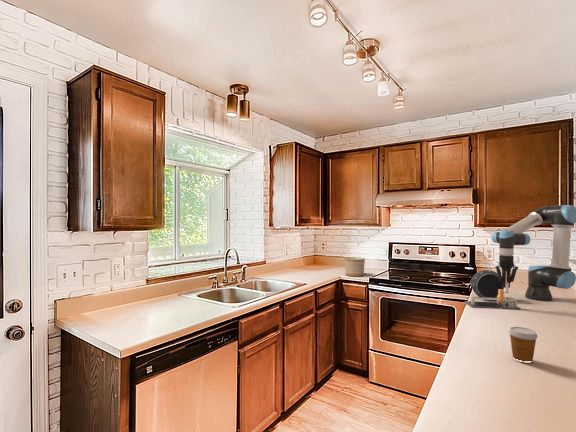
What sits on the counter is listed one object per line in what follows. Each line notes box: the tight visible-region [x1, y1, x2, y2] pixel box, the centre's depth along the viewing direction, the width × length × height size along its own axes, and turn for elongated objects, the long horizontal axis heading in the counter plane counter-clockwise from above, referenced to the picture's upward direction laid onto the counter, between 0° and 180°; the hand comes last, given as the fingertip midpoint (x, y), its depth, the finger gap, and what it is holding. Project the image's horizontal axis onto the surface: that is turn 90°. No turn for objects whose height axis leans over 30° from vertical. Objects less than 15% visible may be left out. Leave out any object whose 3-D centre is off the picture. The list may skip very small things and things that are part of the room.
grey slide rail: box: [470, 296, 518, 307], centre depth 211 cm, size 26×5×7 cm, turn 81°
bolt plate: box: [464, 300, 521, 311], centre depth 213 cm, size 28×12×1 cm, turn 81°
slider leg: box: [496, 289, 506, 304], centre depth 210 cm, size 3×6×10 cm, turn 172°
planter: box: [344, 256, 366, 278], centre depth 319 cm, size 19×19×16 cm
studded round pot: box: [470, 269, 504, 298], centre depth 229 cm, size 11×20×20 cm, turn 78°
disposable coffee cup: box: [508, 326, 539, 361], centre depth 133 cm, size 10×10×12 cm
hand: (506, 292), depth 208 cm, fingers closed
